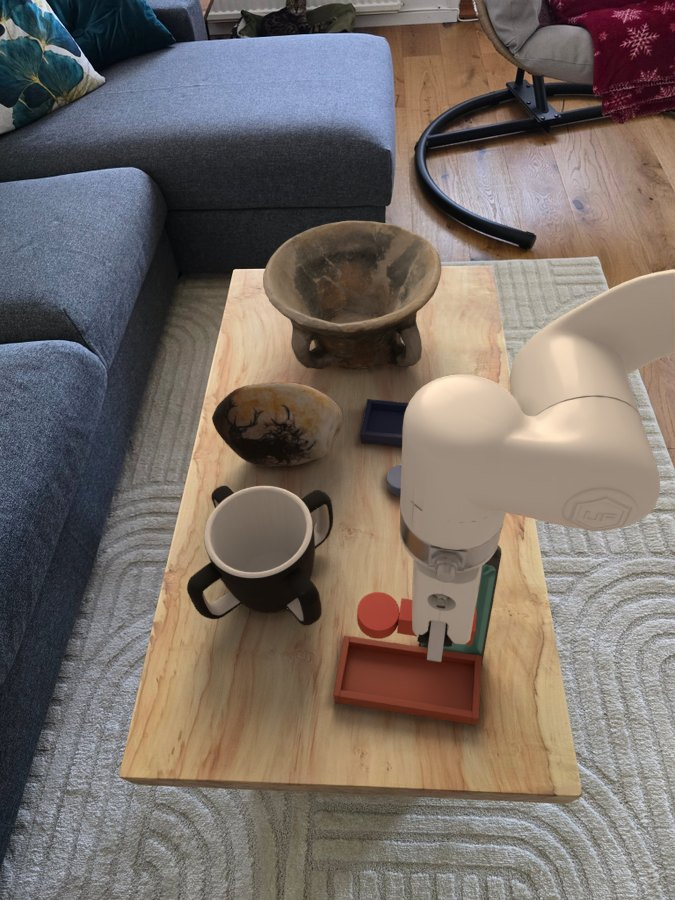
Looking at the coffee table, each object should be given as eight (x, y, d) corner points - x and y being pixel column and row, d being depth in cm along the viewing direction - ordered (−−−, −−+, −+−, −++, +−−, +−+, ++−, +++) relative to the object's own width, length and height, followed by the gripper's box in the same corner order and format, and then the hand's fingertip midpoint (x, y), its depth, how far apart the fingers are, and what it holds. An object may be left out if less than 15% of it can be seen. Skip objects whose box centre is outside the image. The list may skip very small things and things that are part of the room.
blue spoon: (468, 480, 93) (470, 466, 90) (467, 504, 90) (469, 490, 88) (388, 471, 94) (388, 458, 92) (384, 494, 92) (384, 481, 89)
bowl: (292, 287, 122) (281, 212, 110) (440, 294, 118) (446, 217, 107) (258, 395, 105) (242, 319, 94) (430, 406, 102) (436, 329, 90)
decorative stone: (345, 434, 99) (339, 359, 87) (345, 483, 93) (339, 409, 82) (226, 438, 100) (205, 364, 88) (219, 487, 94) (195, 414, 83)
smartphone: (502, 550, 71) (481, 670, 75) (502, 545, 72) (481, 663, 77) (431, 538, 72) (415, 657, 77) (432, 533, 73) (416, 651, 78)
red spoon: (472, 615, 66) (477, 601, 63) (470, 654, 63) (474, 641, 61) (360, 597, 67) (360, 582, 65) (353, 635, 65) (353, 621, 62)
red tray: (479, 663, 76) (481, 655, 75) (476, 725, 72) (478, 718, 70) (345, 643, 79) (344, 635, 77) (334, 702, 74) (333, 695, 73)
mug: (232, 517, 91) (214, 462, 82) (349, 536, 88) (344, 480, 79) (189, 630, 81) (163, 581, 72) (319, 655, 78) (310, 607, 69)
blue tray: (471, 418, 100) (472, 408, 98) (468, 454, 95) (470, 444, 94) (367, 408, 102) (367, 398, 100) (360, 443, 98) (359, 433, 96)
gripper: (498, 626, 45) (470, 718, 59) (505, 443, 55) (480, 560, 69) (385, 610, 46) (385, 704, 60) (412, 433, 56) (406, 550, 70)
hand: (436, 626), depth 64 cm, fingers closed on red spoon, 2 cm apart
